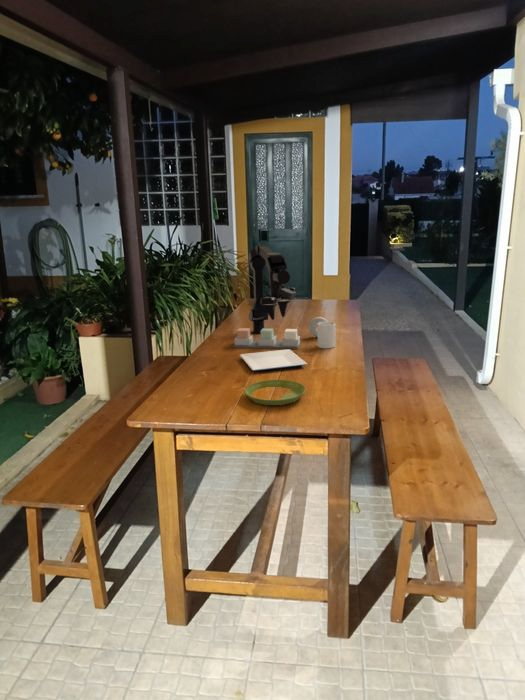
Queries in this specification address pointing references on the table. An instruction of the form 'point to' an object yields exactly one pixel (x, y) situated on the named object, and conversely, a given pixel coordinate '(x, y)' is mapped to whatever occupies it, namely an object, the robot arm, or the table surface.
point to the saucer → (287, 398)
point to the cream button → (291, 334)
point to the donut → (313, 325)
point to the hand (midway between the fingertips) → (278, 318)
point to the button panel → (267, 343)
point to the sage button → (267, 333)
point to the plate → (272, 359)
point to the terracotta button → (243, 333)
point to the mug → (326, 334)
